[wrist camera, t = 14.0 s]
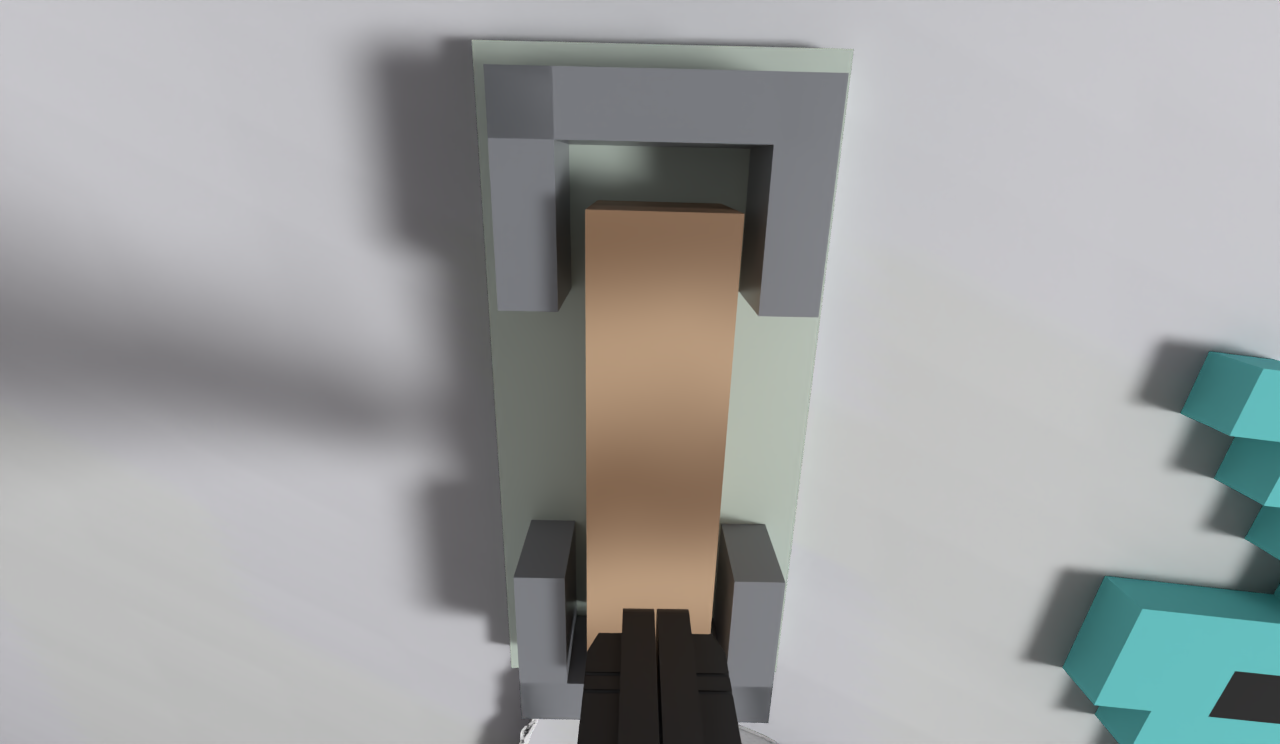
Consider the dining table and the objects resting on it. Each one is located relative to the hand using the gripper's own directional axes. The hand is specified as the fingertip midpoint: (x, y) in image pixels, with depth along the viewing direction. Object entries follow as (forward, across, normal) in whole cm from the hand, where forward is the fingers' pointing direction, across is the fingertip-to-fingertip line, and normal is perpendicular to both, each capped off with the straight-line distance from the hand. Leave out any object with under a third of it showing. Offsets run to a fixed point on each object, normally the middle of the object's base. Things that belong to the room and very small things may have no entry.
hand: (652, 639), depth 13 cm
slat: (+7, 0, -2) cm, 7 cm away
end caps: (+8, 0, -3) cm, 8 cm away
